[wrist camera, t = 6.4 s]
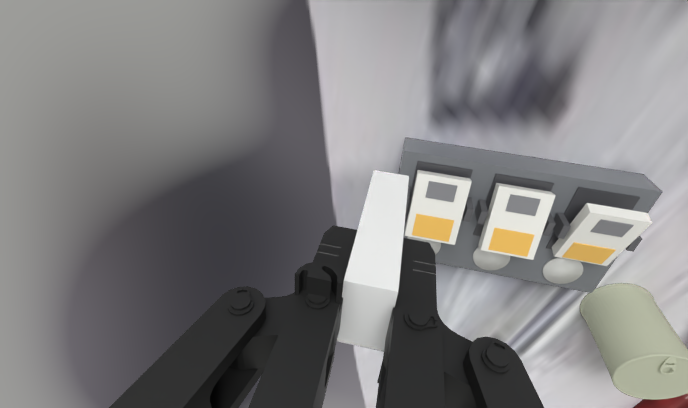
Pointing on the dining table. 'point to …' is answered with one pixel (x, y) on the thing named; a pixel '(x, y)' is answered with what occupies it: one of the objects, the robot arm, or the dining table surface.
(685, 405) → the hardcover book
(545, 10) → the dining table surface
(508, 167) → the rocker switch panel
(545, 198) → the rocker middle
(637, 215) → the rocker
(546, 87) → the dining table surface
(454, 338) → the robot arm
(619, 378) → the can
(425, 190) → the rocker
